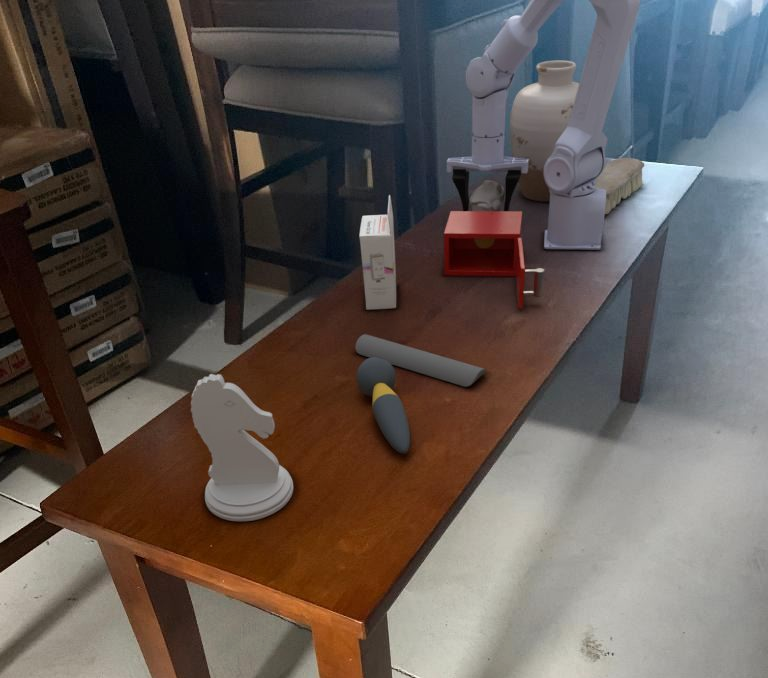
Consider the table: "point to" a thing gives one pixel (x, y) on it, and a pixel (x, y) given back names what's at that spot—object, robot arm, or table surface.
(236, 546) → the table surface
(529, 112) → the vase
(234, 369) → the table surface
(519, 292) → the red cabinet door
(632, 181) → the shoe brush
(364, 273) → the ink cartridge box
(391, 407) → the wand massager
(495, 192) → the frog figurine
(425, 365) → the gray half cylinder
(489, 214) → the cabinet
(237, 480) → the chess piece
